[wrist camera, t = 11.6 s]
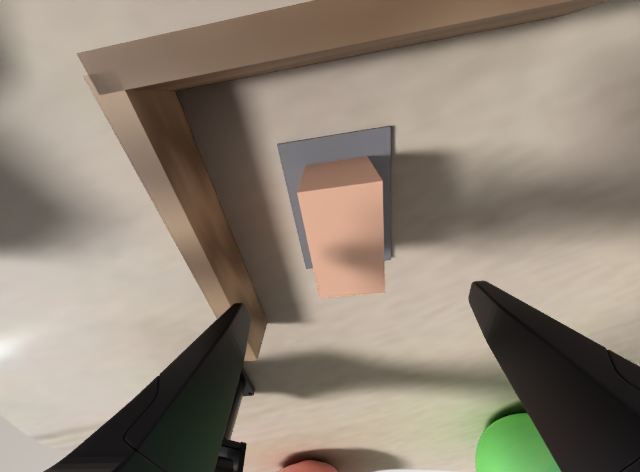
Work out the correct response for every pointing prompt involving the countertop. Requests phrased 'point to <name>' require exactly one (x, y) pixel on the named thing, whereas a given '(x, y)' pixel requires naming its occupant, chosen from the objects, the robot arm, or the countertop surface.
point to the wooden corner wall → (243, 61)
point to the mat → (333, 149)
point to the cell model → (309, 467)
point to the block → (344, 226)
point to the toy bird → (513, 447)
